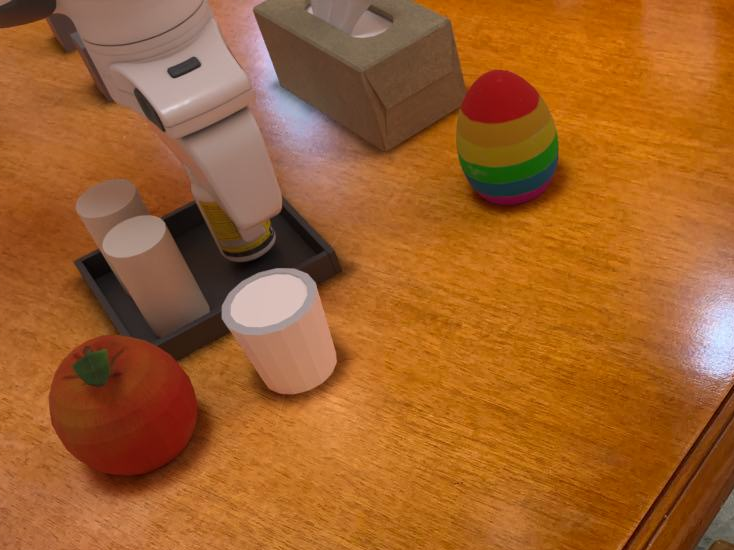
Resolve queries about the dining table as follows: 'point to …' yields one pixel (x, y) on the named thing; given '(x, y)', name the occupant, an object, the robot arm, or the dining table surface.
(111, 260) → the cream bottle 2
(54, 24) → the grey block left
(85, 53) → the grey block right
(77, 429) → the fruit
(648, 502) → the dining table surface
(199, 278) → the tray
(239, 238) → the supplement bottle
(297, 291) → the white cup
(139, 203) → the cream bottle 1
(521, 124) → the decorative egg
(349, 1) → the tissue box
